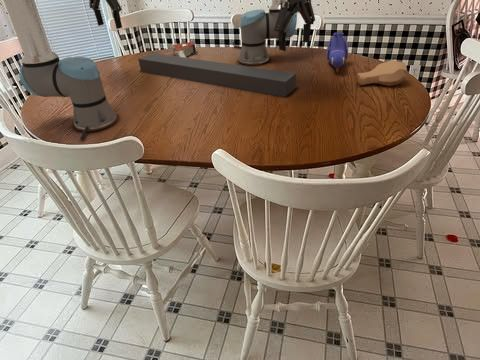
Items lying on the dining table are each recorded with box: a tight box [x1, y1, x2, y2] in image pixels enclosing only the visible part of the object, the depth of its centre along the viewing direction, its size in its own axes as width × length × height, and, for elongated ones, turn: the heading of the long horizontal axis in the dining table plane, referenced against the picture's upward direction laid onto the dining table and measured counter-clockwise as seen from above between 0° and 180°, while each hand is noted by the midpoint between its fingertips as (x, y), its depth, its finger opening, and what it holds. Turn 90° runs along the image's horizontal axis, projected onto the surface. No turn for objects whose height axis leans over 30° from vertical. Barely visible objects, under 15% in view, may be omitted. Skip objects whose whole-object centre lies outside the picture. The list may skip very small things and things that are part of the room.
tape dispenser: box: [170, 41, 197, 58], centre depth 192 cm, size 18×5×20 cm
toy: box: [326, 31, 349, 74], centre depth 163 cm, size 10×17×25 cm
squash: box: [356, 59, 408, 87], centre depth 147 cm, size 11×20×9 cm, turn 92°
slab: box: [137, 52, 297, 98], centre depth 162 cm, size 79×10×6 cm, turn 59°
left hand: (110, 26), depth 162 cm, fingers open, 13 cm apart
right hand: (294, 46), depth 136 cm, fingers open, 13 cm apart
